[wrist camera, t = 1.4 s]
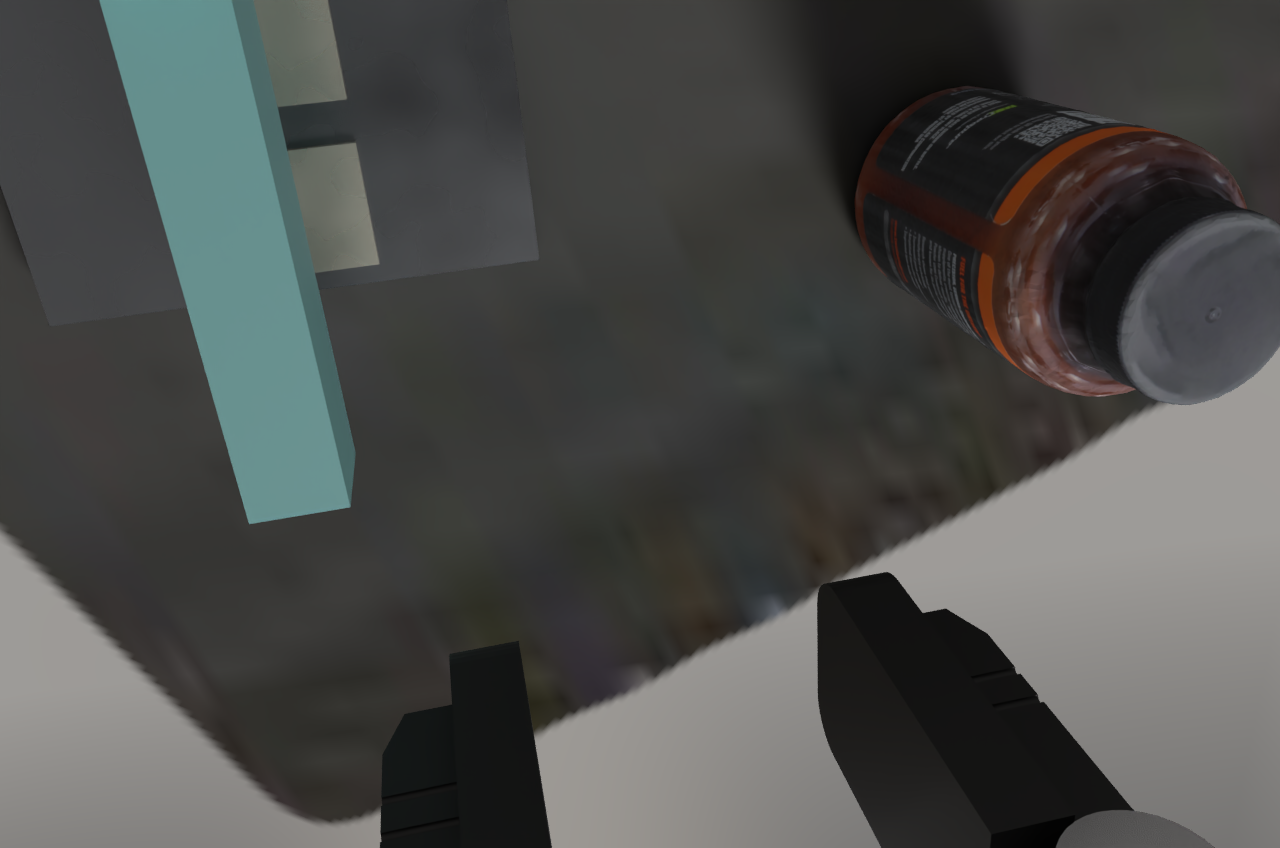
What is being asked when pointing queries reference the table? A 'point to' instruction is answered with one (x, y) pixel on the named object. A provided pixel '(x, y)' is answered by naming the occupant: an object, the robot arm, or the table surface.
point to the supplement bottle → (1074, 244)
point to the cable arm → (238, 245)
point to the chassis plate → (315, 139)
